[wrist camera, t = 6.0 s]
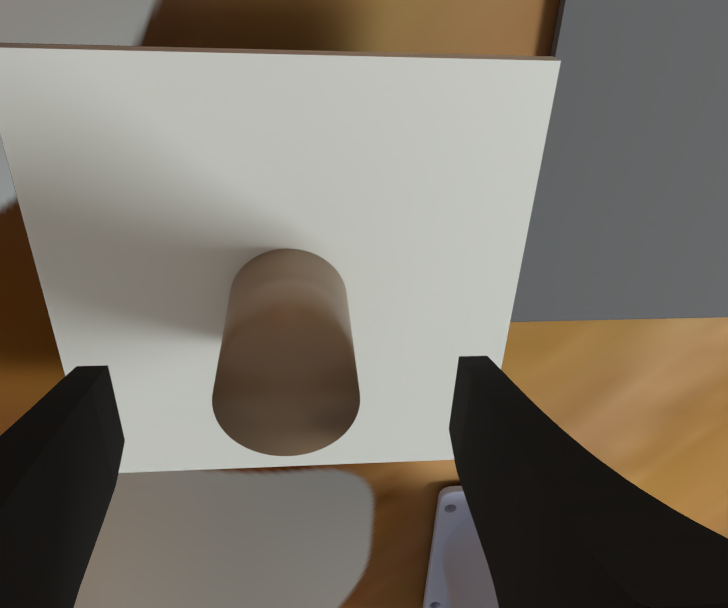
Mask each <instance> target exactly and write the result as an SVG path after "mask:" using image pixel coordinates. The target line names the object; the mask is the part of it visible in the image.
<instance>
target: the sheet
mask: <svg viewBox="0 0 728 608" xmlns="http://www.w3.org/2000/svg"><path fill="white" fill-rule="evenodd" d="M560 64H561V61H560V60H558V59H557V58H555V57H553V56H516V55H476V54H435V53H394V52H353V51H312V50H272V49H231V48H190V47H149V46H108V45H107V46H106V45H67V44H66V45H65V44H27V43H25V44H23V43H0V136H1V139H2V143H3V147H4V150H5V154H6V158H7V161H8V165H9V169H10V172H11V176H12V179H13V184H14V188H15V191H16V195H17V199H18V202H19V206H20V210H21V213H22V217H23V221H24V225H25V228H26V232H27V236H28V239H29V243H30V247H31V250H32V254H33V258H34V262H35V265H36V269H37V273H38V276H39V280H40V284H41V287H42V291H43V295H44V299H45V302H46V306H47V310H48V313H49V317H50V321H51V324H52V328H53V332H54V336H55V339H56V343H57V347H58V350H59V354H60V358H61V362H62V365H63V369H64V373H65V376H66V375H67V374H68V373H70V372H71V371H72V370H73V369H74V368H75V367H76V366H104V365H108V368H109V372H110V377H111V381H112V385H113V390H114V394H115V399H116V403H117V408H118V412H119V417H120V421H121V425H122V430H123V434H124V439H125V443H124V448H123V453H122V458H121V463H120V468H119V472H118V473H130V472H154V471H179V470H205V469H230V468H255V467H280V466H305V465H330V464H355V463H380V462H405V461H430V460H454V455H453V449H452V444H451V439H450V433H449V423H450V416H451V409H452V402H453V395H454V388H455V381H456V374H457V367H458V360H459V356H488V357H489V358H490V359H491V360H492V361H493V362H494V363H495V364H496V365H497V366H498V367H499V368H500V369H501V366H502V361H503V356H504V351H505V345H506V340H507V335H508V330H509V325H510V320H511V315H512V310H513V304H514V299H515V294H516V289H517V284H518V279H519V274H520V269H521V263H522V258H523V253H524V248H525V243H526V238H527V233H528V228H529V222H530V217H531V212H532V207H533V202H534V197H535V192H536V187H537V181H538V176H539V171H540V166H541V161H542V156H543V151H544V146H545V140H546V135H547V130H548V125H549V120H550V115H551V110H552V105H553V99H554V94H555V89H556V84H557V79H558V74H559V69H560Z"/></svg>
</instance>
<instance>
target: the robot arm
mask: <svg viewBox="0 0 728 608" xmlns="http://www.w3.org/2000/svg"><path fill="white" fill-rule="evenodd" d="M449 433H450V439H451V444H452V449H453V455H454V459H455V464H456V469H457V473H458V476H459V479H460V482H461V485H462V486H449V487H446V488H444V489H442V490H441V491H440V493H439V496H438V503H437V510H436V517H435V524H434V531H433V538H432V545H431V552H430V559H429V566H428V573H427V580H426V587H425V594H424V601H423V608H728V539H727V538H725V537H724V536H722V535H720V534H718V533H716V532H714V531H712V530H710V529H708V528H706V527H704V526H703V525H701V524H699V523H697V522H695V521H693V520H691V519H690V518H688V517H686V516H684V515H683V514H681V513H679V512H677V511H676V510H674V509H672V508H670V507H669V506H667V505H666V504H664V503H662V502H661V501H659V500H658V499H656V498H654V497H653V496H651V495H649V494H648V493H646V492H645V491H643V490H641V489H640V488H638V487H637V486H635V485H634V484H632V483H631V482H629V481H628V480H626V479H625V478H624V477H622V476H621V475H619V474H618V473H617V472H615V471H614V470H613V469H611V468H610V467H608V466H607V465H606V464H604V463H603V462H602V461H600V460H599V459H597V458H596V457H595V456H594V455H592V454H591V453H590V452H589V451H587V450H586V449H585V448H584V447H582V446H581V445H580V444H579V443H578V442H576V441H575V440H574V439H573V438H572V437H571V436H569V435H568V434H567V433H566V432H565V431H563V430H562V429H561V428H560V427H559V426H558V425H557V424H556V423H554V422H553V421H552V420H551V419H550V418H549V417H548V416H547V415H546V414H545V413H544V412H543V411H542V410H540V409H539V408H538V407H537V406H536V405H535V404H534V403H533V402H532V401H531V400H530V399H529V398H528V397H527V396H526V395H525V394H524V393H523V392H522V391H521V390H520V389H519V388H518V387H517V386H516V385H515V384H514V383H513V382H512V381H511V380H510V379H509V378H508V377H507V376H506V374H505V373H504V372H503V371H502V370H501V369H500V368H499V367H498V366H497V365H496V364H495V363H494V362H493V361H492V360H491V359H490V358H489V357H488V356H459V360H458V367H457V374H456V381H455V388H454V395H453V402H452V409H451V416H450V423H449ZM124 443H125V439H124V434H123V430H122V425H121V421H120V417H119V412H118V408H117V403H116V399H115V394H114V390H113V385H112V381H111V377H110V372H109V368H108V365H104V366H76V367H75V368H74V369H73V370H72V371H71V372H70V373H68V374H67V375H66V376H65V377H64V378H63V379H62V380H61V381H60V382H59V383H58V384H57V385H56V386H55V387H53V388H52V389H51V390H50V391H49V392H48V393H47V394H46V395H45V396H44V397H43V398H42V399H41V400H40V401H38V402H37V403H36V404H35V405H34V406H33V407H32V408H31V409H30V410H29V411H28V412H26V413H25V414H24V415H23V416H22V417H21V418H20V419H19V420H18V421H17V422H15V423H14V424H13V425H12V426H11V427H10V428H9V429H8V430H7V431H5V432H4V433H3V434H2V435H1V436H0V608H73V607H74V604H75V601H76V598H77V594H78V591H79V588H80V585H81V582H82V579H83V577H84V574H85V571H86V568H87V565H88V563H89V560H90V557H91V554H92V551H93V549H94V546H95V542H96V540H97V537H98V535H99V532H100V529H101V526H102V523H103V521H104V518H105V515H106V511H107V509H108V506H109V503H110V501H111V498H112V495H113V492H114V489H115V486H116V481H117V476H118V472H119V468H120V463H121V458H122V453H123V448H124Z"/></svg>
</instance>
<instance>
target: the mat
mask: <svg viewBox="0 0 728 608" xmlns="http://www.w3.org/2000/svg"><path fill="white" fill-rule="evenodd" d="M550 56H553V57H555V58H557V59H558V60H560V61H561V64H560V69H559V74H558V79H557V84H556V89H555V94H554V99H553V105H552V110H551V115H550V120H549V125H548V130H547V135H546V140H545V146H544V151H543V156H542V161H541V166H540V171H539V176H538V181H537V187H536V192H535V197H534V202H533V207H532V212H531V217H530V222H529V228H528V233H527V238H526V243H525V248H524V253H523V258H522V263H521V269H520V274H519V279H518V284H517V289H516V294H515V299H514V304H513V310H512V315H511V320H510V322H528V321H574V320H619V319H665V318H711V317H728V0H560V4H559V9H558V15H557V20H556V26H555V31H554V37H553V42H552V48H551V53H550Z"/></svg>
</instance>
